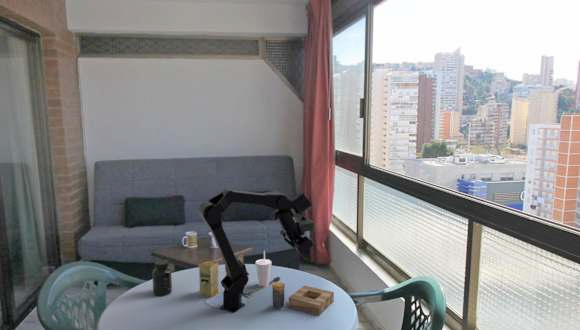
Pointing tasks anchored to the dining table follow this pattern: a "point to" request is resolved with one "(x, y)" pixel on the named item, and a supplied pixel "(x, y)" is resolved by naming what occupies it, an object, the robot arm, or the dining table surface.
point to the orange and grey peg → (278, 295)
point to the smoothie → (263, 271)
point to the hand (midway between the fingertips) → (304, 256)
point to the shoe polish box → (208, 278)
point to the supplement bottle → (162, 279)
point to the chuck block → (311, 299)
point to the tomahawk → (260, 288)
